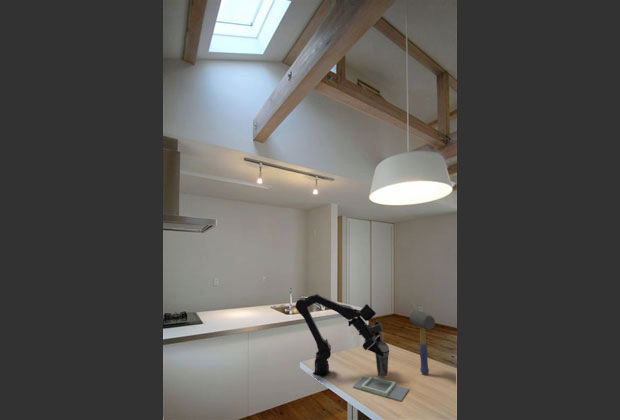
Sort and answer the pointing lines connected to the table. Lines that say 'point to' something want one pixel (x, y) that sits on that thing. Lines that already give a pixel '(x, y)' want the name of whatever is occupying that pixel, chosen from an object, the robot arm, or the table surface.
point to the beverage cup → (382, 358)
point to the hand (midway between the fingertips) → (384, 353)
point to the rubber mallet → (423, 335)
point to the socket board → (382, 388)
